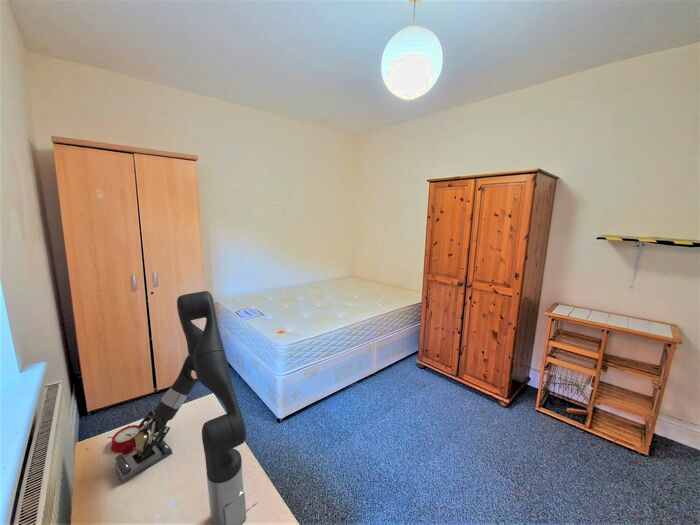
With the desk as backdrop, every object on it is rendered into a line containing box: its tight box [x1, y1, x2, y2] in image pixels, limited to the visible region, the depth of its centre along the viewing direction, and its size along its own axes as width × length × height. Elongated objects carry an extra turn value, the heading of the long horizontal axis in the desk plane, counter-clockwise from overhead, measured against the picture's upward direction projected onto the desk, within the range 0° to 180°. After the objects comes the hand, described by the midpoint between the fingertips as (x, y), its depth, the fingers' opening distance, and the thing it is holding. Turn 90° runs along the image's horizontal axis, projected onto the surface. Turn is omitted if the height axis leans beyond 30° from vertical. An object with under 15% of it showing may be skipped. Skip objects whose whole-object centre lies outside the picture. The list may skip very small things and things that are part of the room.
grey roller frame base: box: [113, 438, 173, 484], centre depth 102 cm, size 9×15×5 cm, turn 143°
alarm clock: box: [107, 424, 140, 456], centre depth 110 cm, size 10×6×15 cm
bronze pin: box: [135, 430, 152, 464], centre depth 102 cm, size 4×4×11 cm
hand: (139, 448), depth 101 cm, fingers open, 8 cm apart
